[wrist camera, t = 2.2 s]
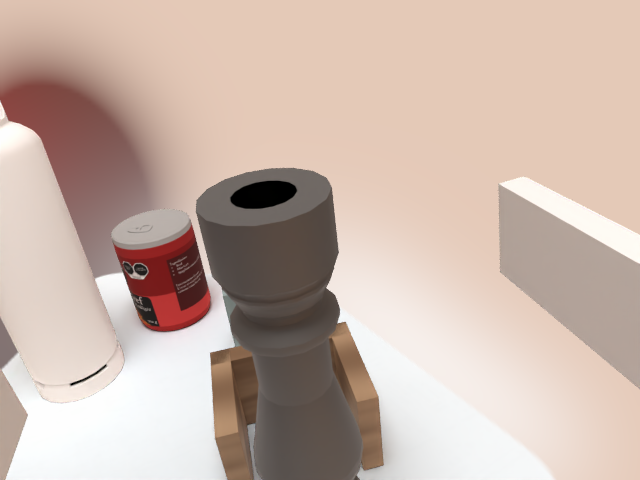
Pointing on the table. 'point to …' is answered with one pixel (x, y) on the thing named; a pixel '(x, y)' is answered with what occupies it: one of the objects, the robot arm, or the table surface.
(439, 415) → the table surface
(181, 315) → the canned food
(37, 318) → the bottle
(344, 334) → the cradle
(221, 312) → the table surface
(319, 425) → the candle holder
